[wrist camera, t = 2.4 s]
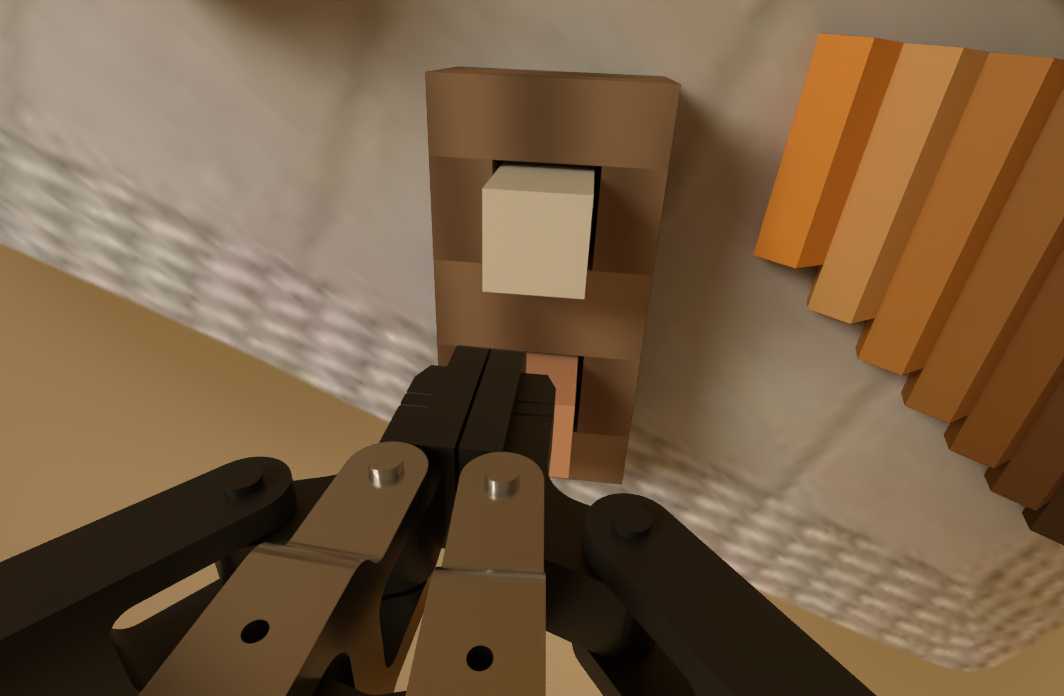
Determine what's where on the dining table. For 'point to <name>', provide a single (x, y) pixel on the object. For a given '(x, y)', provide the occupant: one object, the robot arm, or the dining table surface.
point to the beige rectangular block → (537, 229)
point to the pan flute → (941, 240)
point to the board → (615, 238)
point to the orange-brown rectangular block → (558, 404)
